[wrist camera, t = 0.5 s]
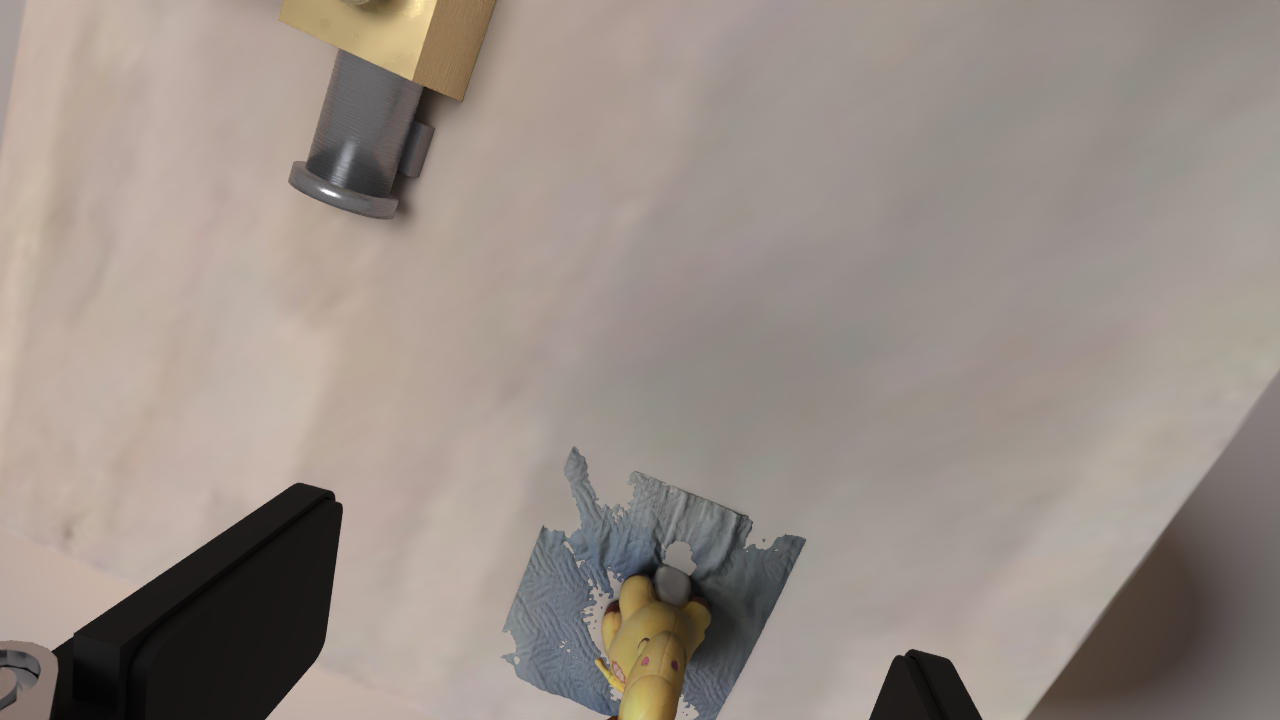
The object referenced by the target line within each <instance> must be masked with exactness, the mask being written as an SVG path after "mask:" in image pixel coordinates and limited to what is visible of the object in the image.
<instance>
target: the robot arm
mask: <svg viewBox="0 0 1280 720" xmlns="http://www.w3.org/2000/svg"><path fill="white" fill-rule="evenodd" d="M342 514H343V507H342V504H341V503H339V502H336V501H335V494H334V493H333V492H332V491H329V490H326V489H322V488H318V487H315V486H311V485H307V484H304V483H296V484H294V485H292V486H291V487H289V488H288V489H286V490H285V491H283V492H282V493H280V494H279V495H277V496H276V497H274V498H273V499H272V500H270V501H269V502H267V503H266V504H264V505H263V506H261V507H260V508H258V509H257V510H255V511H254V512H252V513H251V514H249V515H248V516H246V517H245V518H243V519H242V520H241V521H239V522H238V523H236V524H235V525H233V526H232V527H230V528H229V529H227V530H226V531H224V532H223V533H221V534H220V535H218V536H217V537H215V538H214V539H212V540H211V541H210V542H208V543H207V544H205V545H204V546H202V547H201V548H199V549H198V550H196V551H195V552H193V553H192V554H190V555H189V556H187V557H186V558H184V559H183V560H181V561H180V562H179V563H177V564H176V565H174V566H173V567H171V568H170V569H168V570H167V571H165V572H164V573H162V574H161V575H159V576H158V577H156V578H155V579H153V580H152V581H150V582H149V583H147V584H146V585H145V586H143V587H142V588H140V589H139V590H137V591H136V592H134V593H133V594H131V595H130V596H128V597H127V598H125V599H124V600H123V601H121V602H119V603H118V604H117V605H115V606H114V607H112V608H111V609H109V610H108V611H106V612H105V613H103V614H102V615H100V616H99V617H97V618H96V619H94V620H93V621H91V622H90V623H88V624H87V625H85V626H84V627H83V628H81V629H80V630H78V631H77V632H75V633H74V636H73V637H72V638H70V639H69V640H67V641H66V642H64V643H63V644H61V645H60V646H59V647H57V648H56V649H54V650H53V651H50V650H49V649H48V648H45V647H43V646H40V645H38V644H35V643H31V642H22V641H12V640H11V641H0V720H265V719H266V718H267V717H268V716H269V714H270V713H271V712H272V711H273V710H274V709H275V707H276V706H277V705H278V704H279V703H280V702H281V700H282V699H283V698H284V697H285V696H286V695H287V693H288V692H289V691H290V690H291V689H292V688H293V686H294V685H295V684H296V683H297V682H298V681H299V679H300V678H301V677H302V676H303V675H304V674H305V672H306V671H307V670H308V669H309V668H310V667H311V665H312V664H313V663H314V662H315V660H316V659H317V658H318V656H319V654H320V652H321V650H322V648H323V645H324V642H325V638H326V632H327V624H328V617H329V610H330V602H331V595H332V588H333V580H334V573H335V565H336V558H337V551H338V543H339V536H340V529H341V521H342ZM869 720H982V718H981V716H980V714H979V712H978V710H977V708H976V707H975V705H974V703H973V701H972V699H971V697H970V695H969V693H968V692H967V690H966V688H965V686H964V684H963V682H962V680H961V679H960V677H959V675H958V673H957V671H956V669H955V667H954V665H953V664H952V662H951V661H950V660H949V659H947V658H944V657H940V656H937V655H933V654H929V653H926V652H922V651H918V650H915V649H911V650H909V651H908V652H907V653H906V654H905V656H901V655H897V656H896V657H895V658H894V659H893V661H892V663H891V666H890V668H889V671H888V673H887V676H886V678H885V681H884V683H883V686H882V689H881V691H880V694H879V696H878V699H877V701H876V704H875V706H874V709H873V711H872V714H871V716H870V719H869Z"/></svg>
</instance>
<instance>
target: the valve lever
mask: <svg viewBox="0 0 1280 720" xmlns="http://www.w3.org/2000/svg"><path fill="white" fill-rule="evenodd" d="M339 1H341V2H343V3H346V4H350V5H360V4H364V3H366V2H368V1H370V0H339Z"/></svg>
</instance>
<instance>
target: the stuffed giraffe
mask: <svg viewBox="0 0 1280 720" xmlns="http://www.w3.org/2000/svg"><path fill="white" fill-rule="evenodd" d="M587 468H588V467H587V463H586V461H585V457H584V456H580V455H579V451H578V449H577V448H576V447H573V449H572V452H571V454H570V457H569V459H568V462H567V465H566V467H565V470H564V472H565V476H566V477H567V479H568V481H570V483H571V490H572V494H573V497H575V498H576V501H577V504H576V505H577V507H578V509H579V511H580V518H581V521H582V524H581V527H582V528H581V530H580V529H577V531H575V532H574V533H573V534H572V535H571V538H569V539H568V538H566V536H565V533H564V531H560V532H559V531H556V530H554V531H552V532H549V531H548V529H547V528H544V525H543V527H542V530H541V532H540V535H539V538H538V540H537V543H536V545H535V548H534V550H533V553H532V556H531V558H530V561H529V564H528V566H529V567H528V566H527V569H526V571H525V574H524V576H523V579H522V581H521V584H520V587H519V589H518V592H517V595H516V597H515V600H514V602H513V605H512V608H511V610H510V613H509V615H508V618H507V621H506V623H505V626H504V629H503V631H502V632H507V631H508V629H509V630H510V631H511V635H512V636H513V638H514V640H515V642H516V653H511V654H508V655H503V656H502V657H501V658H505V659H506V661H507V662H509V663H511V664H512V665H514V668H515V672H516V675H517V677H519V678H520V679H522V680H525V681H527V682H529V683H531V684H532V685H534V686H536V687H537V688H538V689H540V690H543V691H547V692H549V693H551V694H555V695H560V696H562V697H566V698H569V699H571V700H573V701H575V702H577V703H579V704H581V705H584V706H586V707H587V708H589V709H591V710H594V711H596V712H598V713H600V714H604V715H609V716H611V718H609V719H607V720H674V719H675V717H676V713H677V706H678V701H679V697H681V694H684V699H683V702H688V705H687V706H685V707H684V708H689V707H690V704H692V705H693V706H695V707H696V708H694V709H695V710H697V711H698V713H699V716H698V717H696V718H695V719H694V720H715V719H716V717H717V715H718V714H719V712H720V710H721V708H722V706H723V704H724V703H725V700H726V699H727V697H728V695H729V694H730V692H731V690H732V688H733V686H734V684H735V682H736V680H737V679H738V677H739V675H740V673H741V671H742V669H743V668H744V666H745V664H746V662H747V660H748V658H749V656H750V654H751V652H752V650H753V648H754V646H755V644H756V642H757V640H758V638H759V637H760V635H761V632H762V630H763V628H764V626H765V623H766V621H767V619H768V618H769V616H770V614H771V612H772V610H773V608H774V606H775V604H776V602H777V600H778V598H779V596H780V594H781V592H782V590H783V588H784V585H785V583H786V581H787V578H788V576H789V574H790V572H791V570H792V568H793V566H794V564H795V562H796V559H797V558H798V556H799V554H800V552H801V549H802V547H803V546H804V544H805V541H806V540H805V539H803V538H801V537H798V536H793V535H786V534H785V535H784V536H783V537H778V538H777V539H776V540H775V541H774V544H773V545H772V546H771V547H770V548H768V549H767V550H764V549H757V548H755V544H752V545H750V546H749V547H747V548H746V549H747V550H748V553H747V552H746V549H743V547H744V546H746V545H745V540H746V538H747V536H748V534H749V533H750V531H751V530H752V524H753V522H752V521H751V520H750V519H749V518H748V517H749V516H744V515H742V516H740V515H737V514H735V513H734V512H732V511H731V510H729V509H726V508H724V507H721V506H719V505H717V504H715V503H713V502H710V501H708V500H705V499H703V498H701V497H698V496H694V495H692V494H689V493H685V492H683V491H681V490H680V489H678V488H676V487H674V486H673V488H672V489H673V493H670V492H669V490H670V487H671V486H672V485H669V486H665V485H663V484H661V483H664V482H661V481H658V480H656V479H654V478H652V477H648V476H646V475H644V474H641V473H638V472H636V471H634V472H633V473H631V474H630V476H629V477H630V480H631V481H628V482H627V483H628V484H629V485H631V484H632V483H637V485H636V486H635V487H634V488H635V491H636V492H633V496H634V499H633V500H631V502H630V503H628V504H629V505H630V506H631V508H630V509H629V511H630V513H629V515H630V516H629V515H628V511H624V508H623V507H622V508H621V507H620V504H617V505H616V506H615V507H614V508H613V509H612V510H611V509H610V508H609V507H608V506H606V504H605V505H604V507H603V508H602V510H603V511H601V508H600V506H599V505H598V504H596V503H595V500H599V498H596V495H595V492H594V489H593V488H592V487H591V485H590V482H589V480H588V473H587ZM649 480H651V482H650V481H649ZM664 484H666V483H664ZM700 503H701V504H700ZM697 504H698V506H696V505H697ZM699 504H700V505H699ZM619 509H620V510H622V511H623V518H622V517H621V516H620V515H617V513H618V511H619ZM613 512H615V515H616V516H617V523H618V524H617V523H615V521H614V519H615V518H614V516H613V517H612V513H613ZM676 540H678V541H681V542H682V541H684V542H685V543H688V544H689V545H690V547H691V550H690V551H692V552H693V554H692V557H691V560H692V561H693V562H694V563H696V565H697V568H696V570H695V571H694V572H693V573H692V574H691V576H688V575H687V574H686V573H684V572H682V571H680V570H678V569H676V568H674V567H671V566H669V565H665V564H664V563H662V559H665V552H666V551H665V550H661V544H662V543H664V546H665V549H668V547H669V545H670V544H673V543H674V542H675V541H676ZM564 541H567V542H568V543H569V544H570V546H571V547H572V549H573V552H574V554H572V553H571V551H569V548H566V547H565V546H564V544H563V543H564ZM764 541H765V539H763V542H764ZM776 549H778V551H774V550H776ZM574 555H575V559H574V557H573V556H574ZM580 560H585V562H583V561H582V562H581V565H580V568H578V566H577V564H576V562H575V561H580ZM608 567H611V568H609V569H608V571H612V572H613V573H614V575H613V578H615V579H616V578H617V580H618V581H619V582H622V580H621V578H623V579H625V580H624V582H623V584H622V586H621V590H620V595H619V601H615V602H613V603H610V604H609V605H608V607H607V609H606V612H605V614H604V617H603V620H602V627H601V633H602V638H603V643H604V646H605V652H606V654H607V656H608V659H609V662H610V664H607V663H606V661H607V659H606V658H604V657H600V655H601V651H600V650H598V648H597V647H596V646H595V643H594V641H591V639H592V638H591V636H590V633H589V631H588V627H587V626H588V625H590V624H591V623H590V621H589V622H587V623H585V622H584V621H583V618H586V617H587V616H593V614H592V613H590V614H587V615H586V614H585V613H581V612H582V611H583V612H585V611H584V610H583V609H584V608H586V607H588V606H594V605H595V604H596V603H597V601H595V600H594V599H593V598H594V595H593V594H590V595H589V593H590V592H591V590H593V587H596V588H597V590H598V587H597V585H596V583H597V581H596V579H597V580H598V583H599V585H600V587H601V591H603V592H604V593H610V595H609V597H608V598H609V599H611V598H612V597H613V593H614V591H613V589H612V588H611V587H610V581H609V579H608V575H607V568H608ZM585 572H586V573H585ZM617 573H620V574H621V576H619V577H617ZM593 574H594V575H593ZM588 575H589V576H590V577H589V576H588ZM594 576H595V578H596V579H595V578H594ZM589 578H591V580H592V582H593V586H589V583H588V580H589ZM602 595H603V594H599V596H600V597H602ZM589 598H592V600H589ZM601 609H602V606H601ZM590 610H591V611H592V610H593V609H590ZM558 612H559V613H558ZM580 613H581V614H580ZM560 620H561V621H560ZM596 622H597V620H595V623H596ZM569 623H570V624H569ZM593 629H595V628H593ZM576 631H577V632H576ZM561 641H564V642H565V641H567V642H565V645H564V644H563V643H562V642H561ZM572 642H574V643H573V644H572ZM562 645H564V647H562V648H560V647H559V646H562ZM567 649H570V653H568V652H567ZM575 649H576V650H575ZM555 651H556V652H555ZM515 656H517V657H518V658H520V662H519V664H518V665H516V664H515V662H514V657H515ZM573 656H574V658H573ZM575 657H578V658H575ZM609 667H610V669H608V668H609ZM609 685H612V686H613V687H615V688H616V689H617V690H618V691H620V692H622V693H623V697H622V700H620V699H617V700H616V701H614V700H613V699H612V700H610V698H611V696H612V697H613V696H614V695H613V694H611V693H610V691H611V689H612V687H609ZM613 689H614V688H613ZM683 713H684V712H683ZM687 715H688V714H686V716H687Z"/></svg>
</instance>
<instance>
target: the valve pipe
mask: <svg viewBox="0 0 1280 720" xmlns="http://www.w3.org/2000/svg"><path fill="white" fill-rule="evenodd" d="M495 2H496V0H370V1H368V2H366V3H364V4H360V5H350V4H346V3H343V2H341V1H339V0H283V4H282V8H281V12H280V16H279V21H281V22H283V23H285V24H288V25H290V26H292V27H294V28H296V29H299V30H301V31H303V32H305V33H307V34H310V35H312V36H314V37H316V38H318V39H321V40H323V41H325V42H327V43H329V44H332V45H334V46H336V47H338V48H339V51H338V54H337V58H336V61H335V65H334V68H333V72H332V75H331V79H330V82H329V86H328V89H327V93H326V96H325V100H324V103H323V107H322V110H321V114H320V117H319V121H318V124H317V128H316V131H315V135H314V138H313V142H312V145H311V149H310V152H309V156H308V159H307V162H303V161H295V162H293V165H292V169H291V173H290V176H289V180H288V182H289V184H290V185H291V186H293V187H294V188H295V189H297V190H299V191H300V192H302V193H304V194H306V195H308V196H310V197H312V198H314V199H317V200H319V201H321V202H324V203H326V204H329V205H331V206H334V207H337V208H340V209H342V210H346V211H349V212H352V213H355V214H359V215H363V216H367V217H372V218H377V219H393V218H394V215H395V212H396V209H397V206H398V203H399V199H398V198H397V197H396V196H395V195H393V194H392V193H390V190H391V187H392V184H393V181H394V178H395V175H396V172H397V171H398V172H400V173H403V174H405V175H407V176H413V177H419V174H420V171H421V168H422V165H423V162H424V159H425V156H426V153H427V150H428V147H429V144H430V141H431V138H432V135H433V132H434V129H435V128H433V127H431V126H429V125H427V124H424V123H422V122H420V121H418V120H416V119H414V116H415V113H416V110H417V107H418V103H419V100H420V97H421V94H422V91H423V88H424V86H425V87H428V88H430V89H432V90H435V91H437V92H439V93H442V94H444V95H447V96H449V97H451V98H454V99H456V100H459V101H461V102H462V100H463V97H464V94H465V91H466V88H467V85H468V82H469V79H470V76H471V73H472V70H473V67H474V64H475V61H476V58H477V55H478V52H479V49H480V47H481V44H482V41H483V38H484V35H485V32H486V29H487V26H488V23H489V20H490V17H491V14H492V11H493V8H494V5H495Z"/></svg>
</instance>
